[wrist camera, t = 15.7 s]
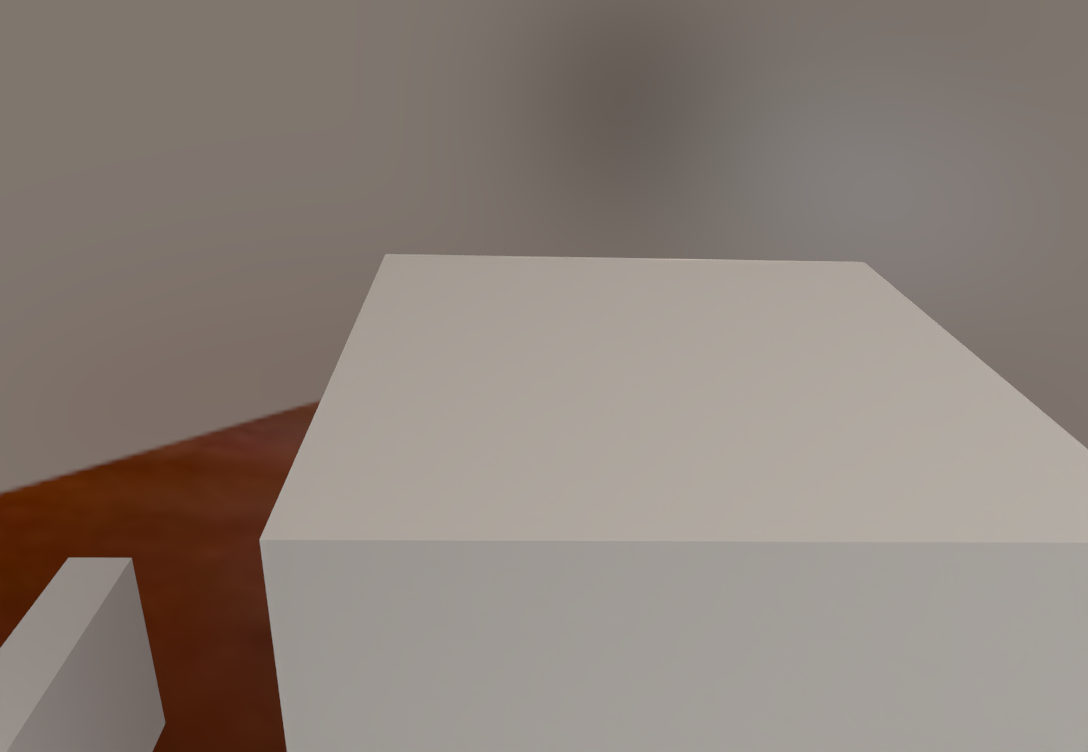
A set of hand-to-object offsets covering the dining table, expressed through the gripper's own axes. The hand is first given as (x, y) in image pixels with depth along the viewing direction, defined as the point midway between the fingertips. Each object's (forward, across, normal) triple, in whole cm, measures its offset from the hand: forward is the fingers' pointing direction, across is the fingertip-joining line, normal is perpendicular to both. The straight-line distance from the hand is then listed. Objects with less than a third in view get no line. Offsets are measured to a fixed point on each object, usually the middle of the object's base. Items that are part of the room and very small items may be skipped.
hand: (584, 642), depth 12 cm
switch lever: (-4, 0, -8) cm, 9 cm away
